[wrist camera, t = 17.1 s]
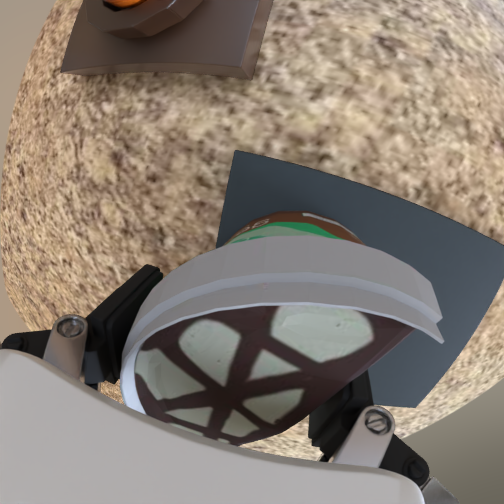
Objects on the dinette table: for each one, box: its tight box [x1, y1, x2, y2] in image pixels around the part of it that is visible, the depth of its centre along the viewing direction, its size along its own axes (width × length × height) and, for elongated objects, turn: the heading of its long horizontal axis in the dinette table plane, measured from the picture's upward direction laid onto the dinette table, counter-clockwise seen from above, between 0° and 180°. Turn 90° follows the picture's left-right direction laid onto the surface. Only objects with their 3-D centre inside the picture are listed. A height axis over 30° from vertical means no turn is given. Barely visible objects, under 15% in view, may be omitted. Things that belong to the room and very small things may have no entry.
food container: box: [120, 211, 444, 446], centre depth 11 cm, size 12×6×10 cm, turn 145°
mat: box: [216, 150, 504, 408], centre depth 16 cm, size 20×16×1 cm
